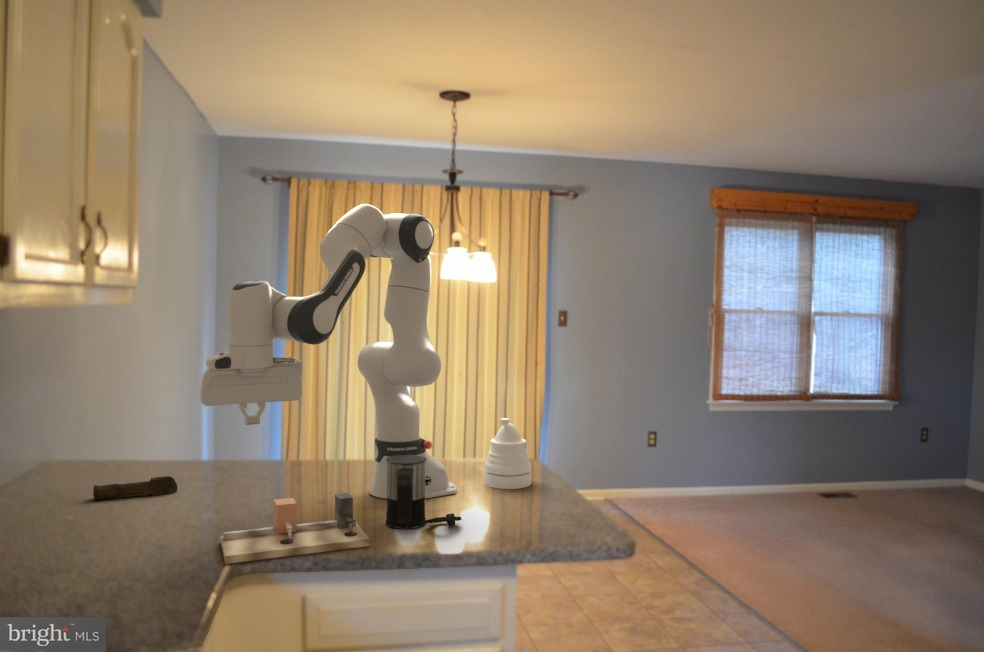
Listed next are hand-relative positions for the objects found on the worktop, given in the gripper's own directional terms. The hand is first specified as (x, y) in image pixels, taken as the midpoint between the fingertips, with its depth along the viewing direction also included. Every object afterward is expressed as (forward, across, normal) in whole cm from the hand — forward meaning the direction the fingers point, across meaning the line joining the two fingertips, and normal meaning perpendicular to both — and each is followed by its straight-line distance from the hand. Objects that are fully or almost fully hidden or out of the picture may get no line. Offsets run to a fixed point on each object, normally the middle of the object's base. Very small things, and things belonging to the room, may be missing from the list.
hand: (252, 424), depth 158 cm
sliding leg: (+22, -6, +6) cm, 24 cm away
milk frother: (+25, -36, +6) cm, 44 cm away
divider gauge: (+24, -7, +8) cm, 26 cm away
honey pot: (+26, -69, -21) cm, 77 cm away
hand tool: (+24, +23, -44) cm, 55 cm away
